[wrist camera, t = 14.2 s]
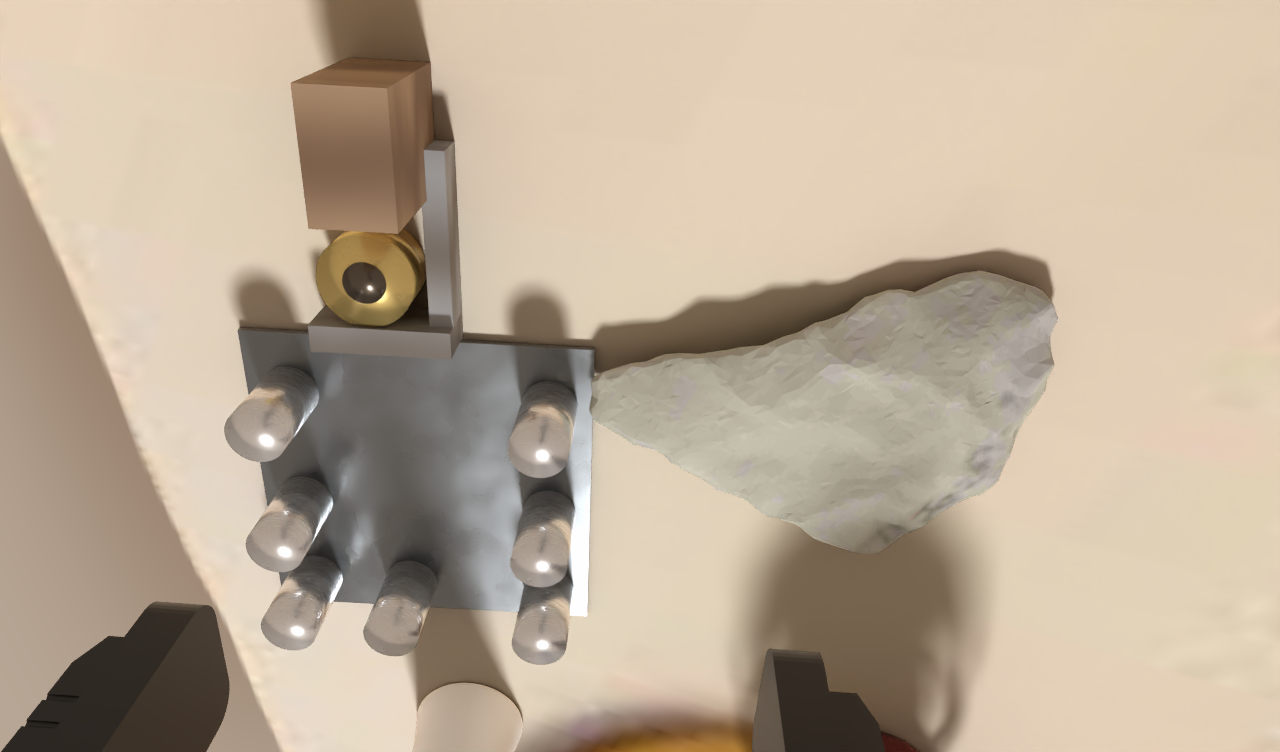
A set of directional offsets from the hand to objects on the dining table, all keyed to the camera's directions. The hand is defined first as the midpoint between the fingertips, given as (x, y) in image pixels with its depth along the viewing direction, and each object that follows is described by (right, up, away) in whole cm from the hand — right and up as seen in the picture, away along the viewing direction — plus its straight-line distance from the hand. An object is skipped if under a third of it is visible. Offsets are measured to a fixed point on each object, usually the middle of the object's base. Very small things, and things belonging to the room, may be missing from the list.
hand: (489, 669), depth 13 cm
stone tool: (+10, +4, +29) cm, 31 cm away
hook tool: (-8, +11, +25) cm, 28 cm away
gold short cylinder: (-9, +9, +26) cm, 29 cm away
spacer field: (-8, -1, +31) cm, 32 cm away
